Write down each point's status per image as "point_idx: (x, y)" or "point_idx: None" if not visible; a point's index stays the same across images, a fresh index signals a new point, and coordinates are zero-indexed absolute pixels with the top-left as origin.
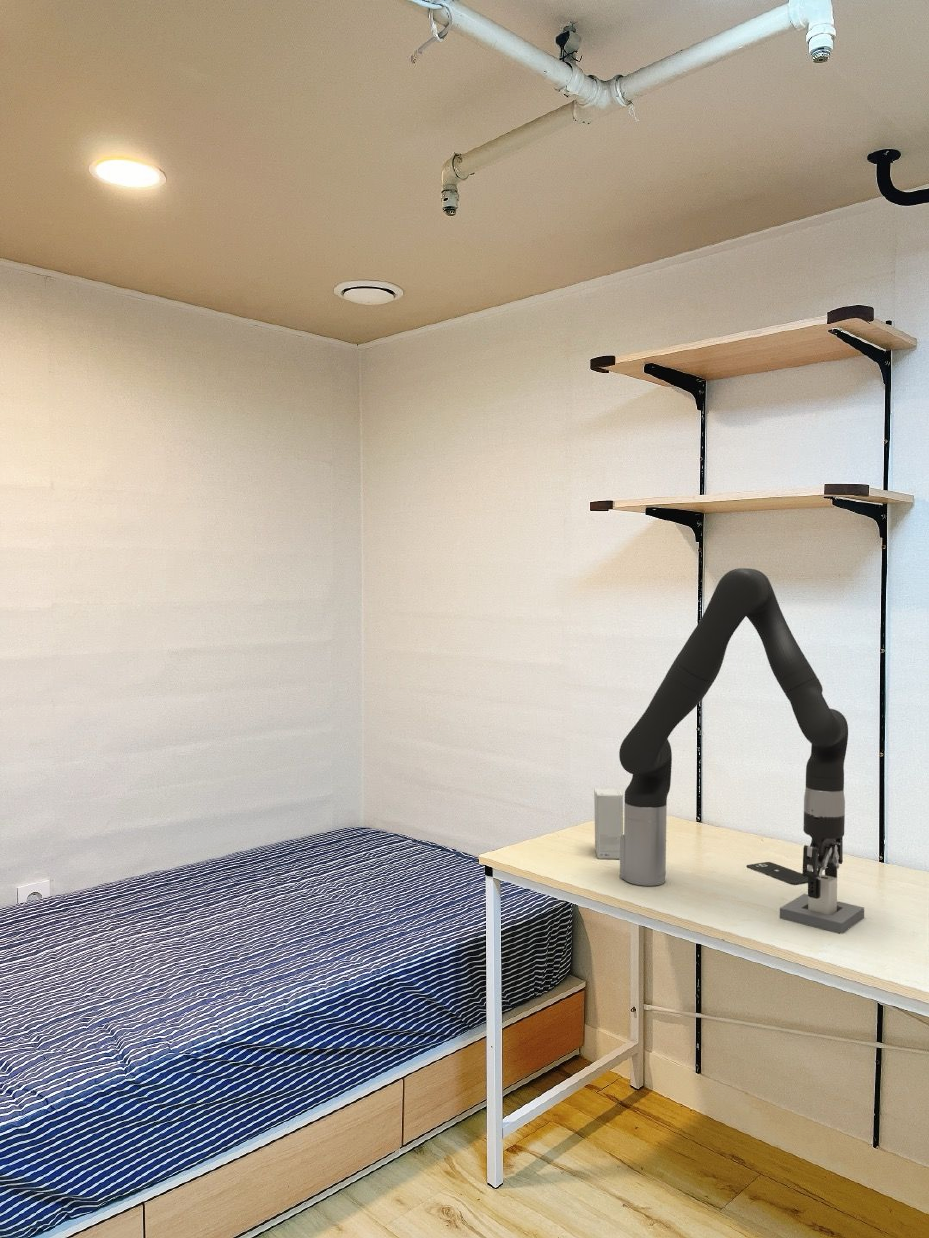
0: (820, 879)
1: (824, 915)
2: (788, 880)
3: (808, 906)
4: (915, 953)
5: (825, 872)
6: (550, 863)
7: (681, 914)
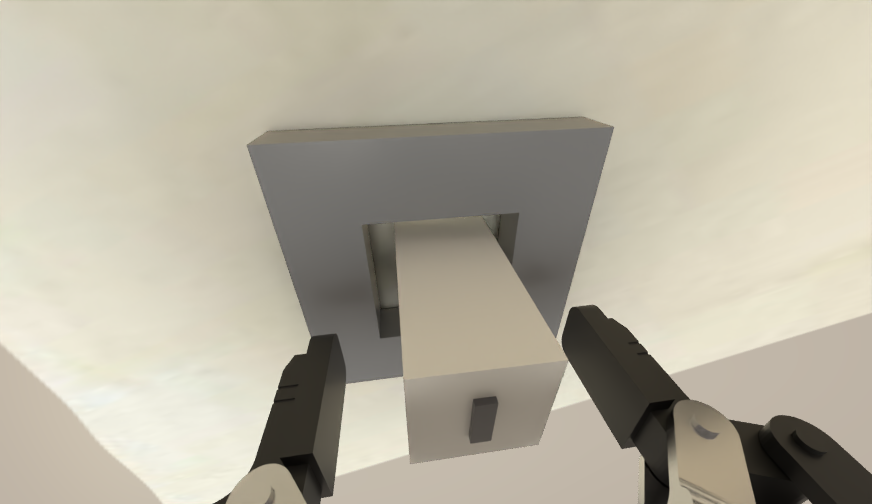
0: (332, 493)
1: (355, 324)
2: None
3: (396, 248)
4: (362, 464)
5: (625, 373)
6: None
7: None
